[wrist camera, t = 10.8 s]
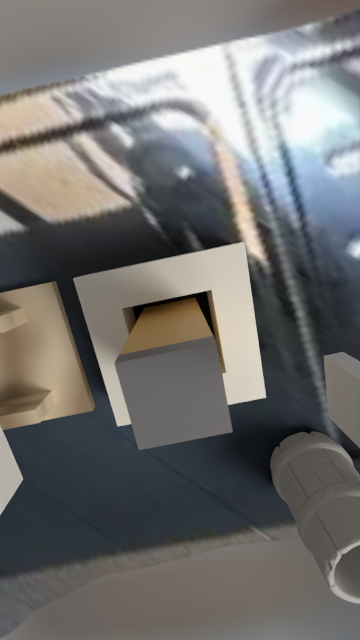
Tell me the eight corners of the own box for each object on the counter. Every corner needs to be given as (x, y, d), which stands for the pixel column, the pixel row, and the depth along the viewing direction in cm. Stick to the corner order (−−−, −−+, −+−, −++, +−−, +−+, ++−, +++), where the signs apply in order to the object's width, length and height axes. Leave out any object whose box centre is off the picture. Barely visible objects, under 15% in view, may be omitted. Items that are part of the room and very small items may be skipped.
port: (126, 399, 25) (117, 426, 21) (90, 273, 22) (72, 278, 18) (251, 375, 25) (265, 397, 21) (231, 244, 22) (244, 241, 18)
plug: (155, 355, 24) (138, 450, 13) (143, 307, 23) (114, 363, 12) (204, 345, 24) (232, 432, 13) (194, 297, 23) (216, 342, 11)
